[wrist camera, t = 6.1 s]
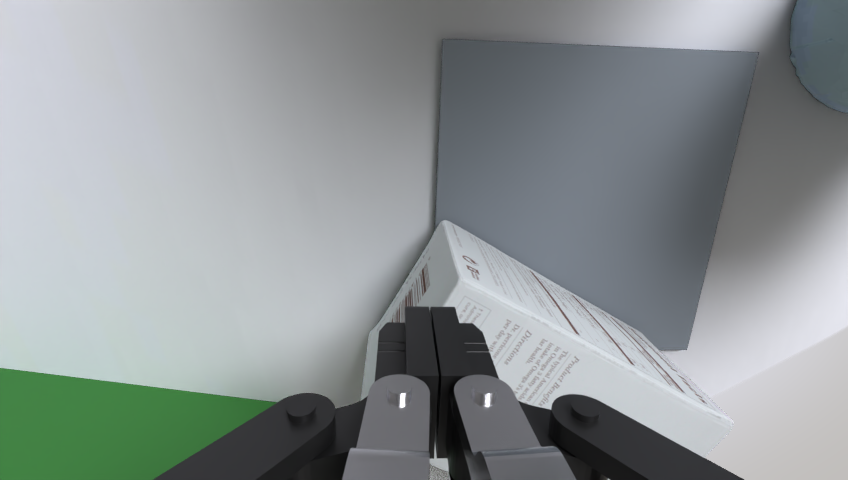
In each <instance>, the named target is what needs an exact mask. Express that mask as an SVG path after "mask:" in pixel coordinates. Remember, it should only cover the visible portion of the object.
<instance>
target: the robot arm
mask: <svg viewBox="0 0 848 480" xmlns="http://www.w3.org/2000/svg"><path fill="white" fill-rule="evenodd" d="M435 446H436V456H437V458H447V459H448V467H449V468H448V480H608V479H610V480H744V479H742V478H740V477H738V476H736V475H735V474H733V473H731V472H729V471H727V470H726V469H724V468H722V467H720V466H718V465H716V464H714V463H713V462H711V461H709V460H707V459H705V458H703V457H702V456H700V455H698V454H696V453H694V452H692V451H691V450H689V449H687V448H685V447H683V446H681V445H680V444H678V443H676V442H674V441H672V440H670V439H669V438H667V437H665V436H663V435H661V434H659V433H658V432H656V431H654V430H652V429H650V428H648V427H647V426H645V425H643V424H641V423H639V422H637V421H636V420H634V419H632V418H630V417H628V416H626V415H625V414H623V413H621V412H619V411H617V410H615V409H614V408H612V407H610V406H608V405H606V404H604V403H603V402H601V401H599V400H597V399H594V398H592V397H588V396H585V395H579V394H567V395H563V396H560V397H558V398H556V399H555V400H554V402H553V403H552V407H551V410H550V409H546V408H541V407H537V406H532V405H528V404H526V403H523V402H520V401H518V400H517V398H516V396H515V394H514V392H513V390H512V389H511V387H510V386H509V385H508V384H507V383H505V382H504V381H502V380H500V379H499V377H498V374H497V372H496V369H495V366H494V363H493V360H492V357H491V354H490V353H489V349H488V346H487V344H486V340H485V337H484V335H483V332H482V331H481V330H480V329H479V328H477V327H476V326H475V325H474V324H473V323H459V320H458V316H457V313H456V309H455V307H430V310H429V307H424V306H405V315H404V323H400V322H387V323H386V324H385V325H384V326H383V327H382V328H381V330H380V331H379V337H378V349H377V360H376V371H375V382H374V383H373V384H372V386H371V387H370V390H369V393H368V396H367V397H366V398H364V399H363V400H361V401H359V402H357V403H355V404H352V405H349V406H345V407H341V408H337V409H335V406H334V404H333V403H332V402H331V400H329V399H328V398H327V397H325V396H322V395H319V394H314V393H302V394H296V395H293V396H289V397H287V398H285V399H283V400H281V401H279V402H278V403H276V404H274V405H273V406H271V407H269V408H268V409H266V410H265V411H263V412H261V413H260V414H258V415H257V416H255V417H253V418H252V419H250V420H248V421H247V422H245V423H244V424H242V425H240V426H239V427H237V428H235V429H234V430H232V431H231V432H229V433H227V434H226V435H224V436H222V437H221V438H219V439H218V440H216V441H214V442H213V443H211V444H209V445H208V446H206V447H205V448H203V449H201V450H200V451H198V452H197V453H195V454H193V455H192V456H190V457H188V458H187V459H185V460H184V461H182V462H180V463H179V464H177V465H175V466H174V467H172V468H171V469H169V470H167V471H166V472H164V473H162V474H161V475H159V476H158V477H156V478H154V479H153V480H429V475H430V459H434V450H435Z"/></svg>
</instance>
